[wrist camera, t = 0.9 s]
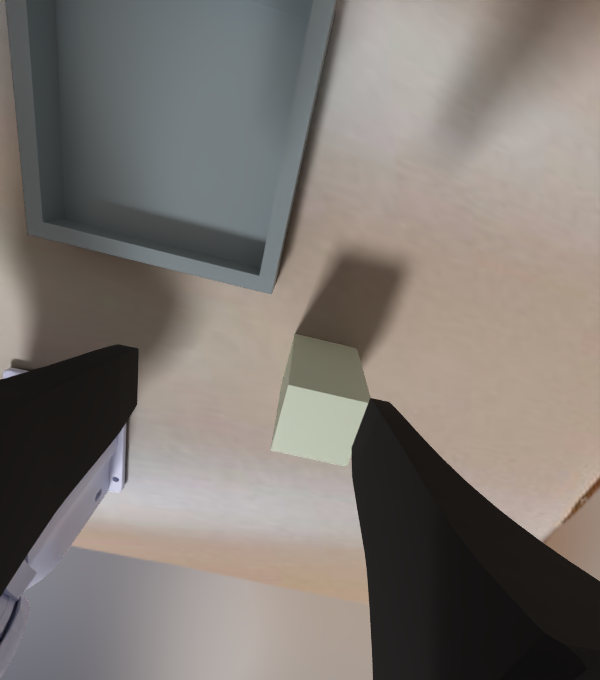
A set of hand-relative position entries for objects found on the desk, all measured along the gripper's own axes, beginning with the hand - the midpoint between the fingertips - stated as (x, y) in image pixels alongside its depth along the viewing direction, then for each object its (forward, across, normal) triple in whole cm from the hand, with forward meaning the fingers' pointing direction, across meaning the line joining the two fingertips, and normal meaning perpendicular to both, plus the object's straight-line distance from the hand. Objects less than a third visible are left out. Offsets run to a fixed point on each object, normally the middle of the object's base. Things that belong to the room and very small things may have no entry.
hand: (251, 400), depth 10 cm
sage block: (+10, -3, +4) cm, 12 cm away
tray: (+10, +7, -7) cm, 14 cm away
